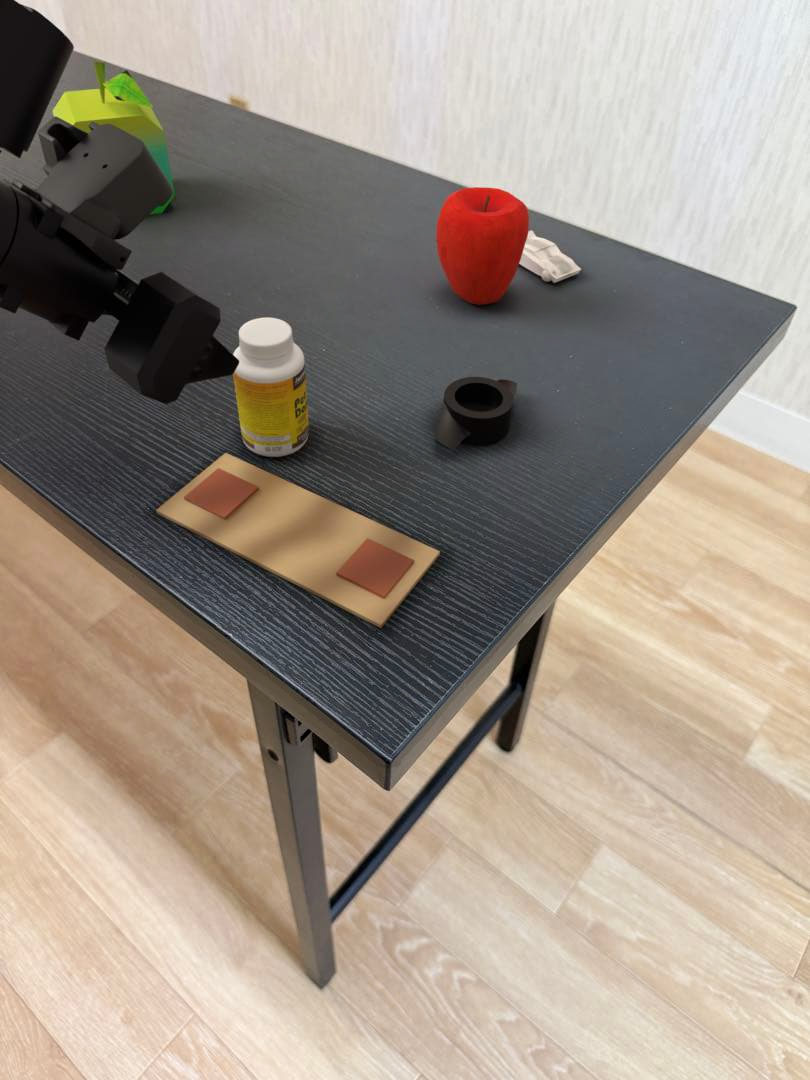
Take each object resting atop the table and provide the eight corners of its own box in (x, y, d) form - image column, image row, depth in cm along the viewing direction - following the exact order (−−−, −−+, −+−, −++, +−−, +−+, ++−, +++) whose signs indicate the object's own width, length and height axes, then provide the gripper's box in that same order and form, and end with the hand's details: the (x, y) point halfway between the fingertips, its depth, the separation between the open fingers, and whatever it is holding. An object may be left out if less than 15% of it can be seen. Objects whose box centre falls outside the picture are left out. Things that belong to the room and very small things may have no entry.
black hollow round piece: (548, 439, 68) (553, 411, 66) (440, 465, 65) (442, 437, 63) (506, 388, 73) (511, 361, 71) (404, 410, 70) (406, 382, 68)
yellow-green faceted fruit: (83, 223, 93) (45, 80, 82) (72, 189, 99) (36, 51, 88) (177, 210, 96) (153, 70, 85) (161, 178, 102) (137, 44, 91)
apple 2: (418, 303, 83) (423, 198, 75) (457, 268, 88) (466, 167, 81) (495, 328, 80) (509, 222, 72) (531, 292, 85) (548, 189, 78)
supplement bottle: (307, 461, 65) (300, 352, 58) (238, 460, 65) (222, 351, 58) (311, 418, 69) (305, 311, 62) (246, 417, 69) (232, 310, 62)
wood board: (156, 513, 61) (155, 507, 60) (226, 456, 65) (225, 449, 65) (381, 628, 54) (381, 622, 53) (439, 554, 59) (440, 548, 58)
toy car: (531, 247, 92) (534, 228, 91) (582, 276, 88) (586, 256, 86) (501, 258, 90) (504, 239, 89) (552, 288, 86) (555, 268, 84)
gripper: (156, 144, 36) (345, 286, 50) (-29, 45, 45) (174, 189, 59) (44, 360, 38) (255, 440, 52) (-113, 224, 47) (103, 323, 60)
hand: (194, 338), depth 55 cm, fingers open, 9 cm apart
